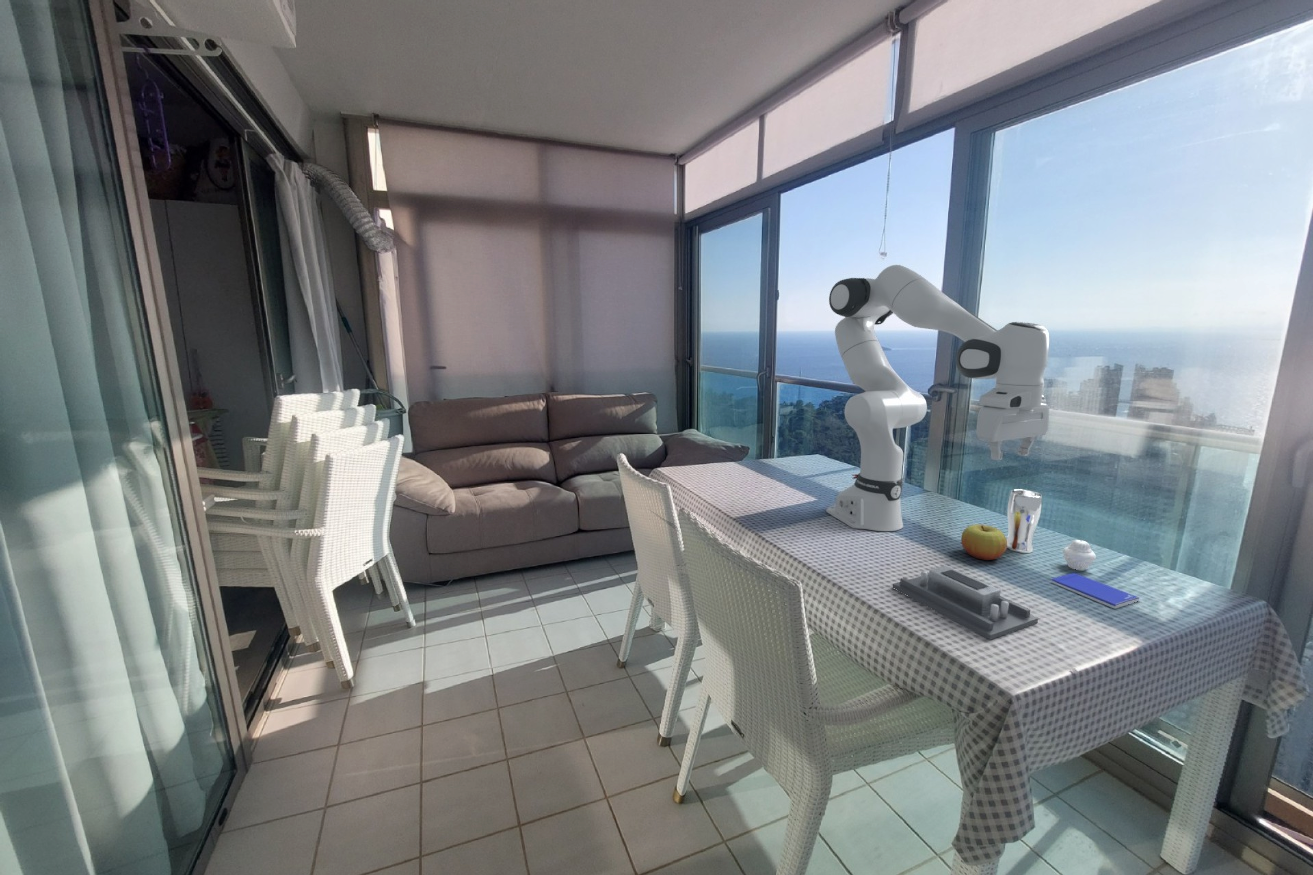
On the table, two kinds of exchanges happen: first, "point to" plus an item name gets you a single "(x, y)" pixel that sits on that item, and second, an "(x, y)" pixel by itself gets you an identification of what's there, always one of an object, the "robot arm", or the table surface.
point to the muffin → (1079, 555)
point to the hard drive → (1095, 590)
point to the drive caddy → (963, 590)
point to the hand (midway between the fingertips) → (1009, 457)
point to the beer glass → (1023, 519)
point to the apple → (984, 542)
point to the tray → (988, 626)
